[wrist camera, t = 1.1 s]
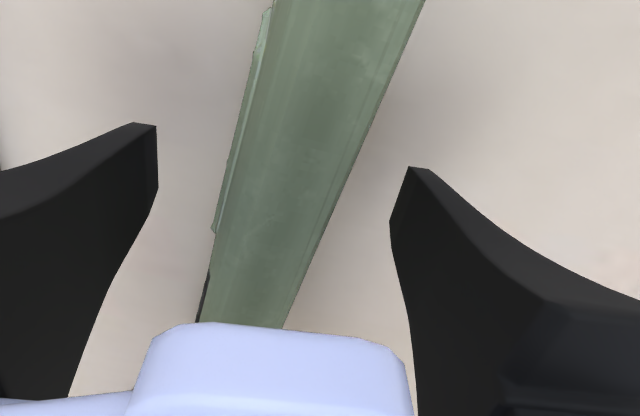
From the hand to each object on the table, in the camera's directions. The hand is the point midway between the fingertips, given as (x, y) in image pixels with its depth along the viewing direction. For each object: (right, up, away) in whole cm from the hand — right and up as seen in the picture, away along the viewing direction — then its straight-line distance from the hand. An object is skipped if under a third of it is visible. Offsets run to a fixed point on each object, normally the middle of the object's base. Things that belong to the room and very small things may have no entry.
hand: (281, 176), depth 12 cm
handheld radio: (0, +3, +4) cm, 5 cm away
